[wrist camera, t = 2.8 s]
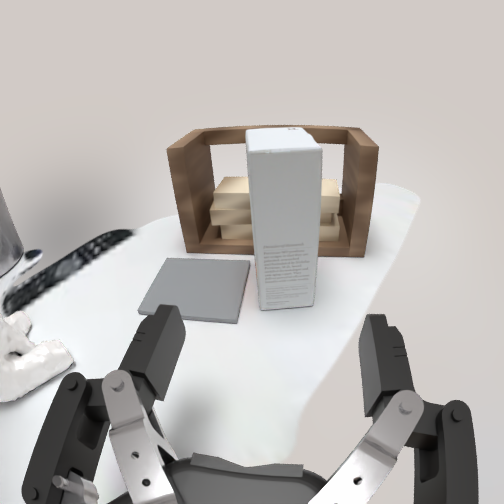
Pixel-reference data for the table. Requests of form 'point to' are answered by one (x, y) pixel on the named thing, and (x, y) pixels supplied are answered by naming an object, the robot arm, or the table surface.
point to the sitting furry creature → (26, 358)
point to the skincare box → (284, 214)
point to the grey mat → (199, 289)
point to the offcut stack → (239, 211)
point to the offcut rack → (199, 140)
